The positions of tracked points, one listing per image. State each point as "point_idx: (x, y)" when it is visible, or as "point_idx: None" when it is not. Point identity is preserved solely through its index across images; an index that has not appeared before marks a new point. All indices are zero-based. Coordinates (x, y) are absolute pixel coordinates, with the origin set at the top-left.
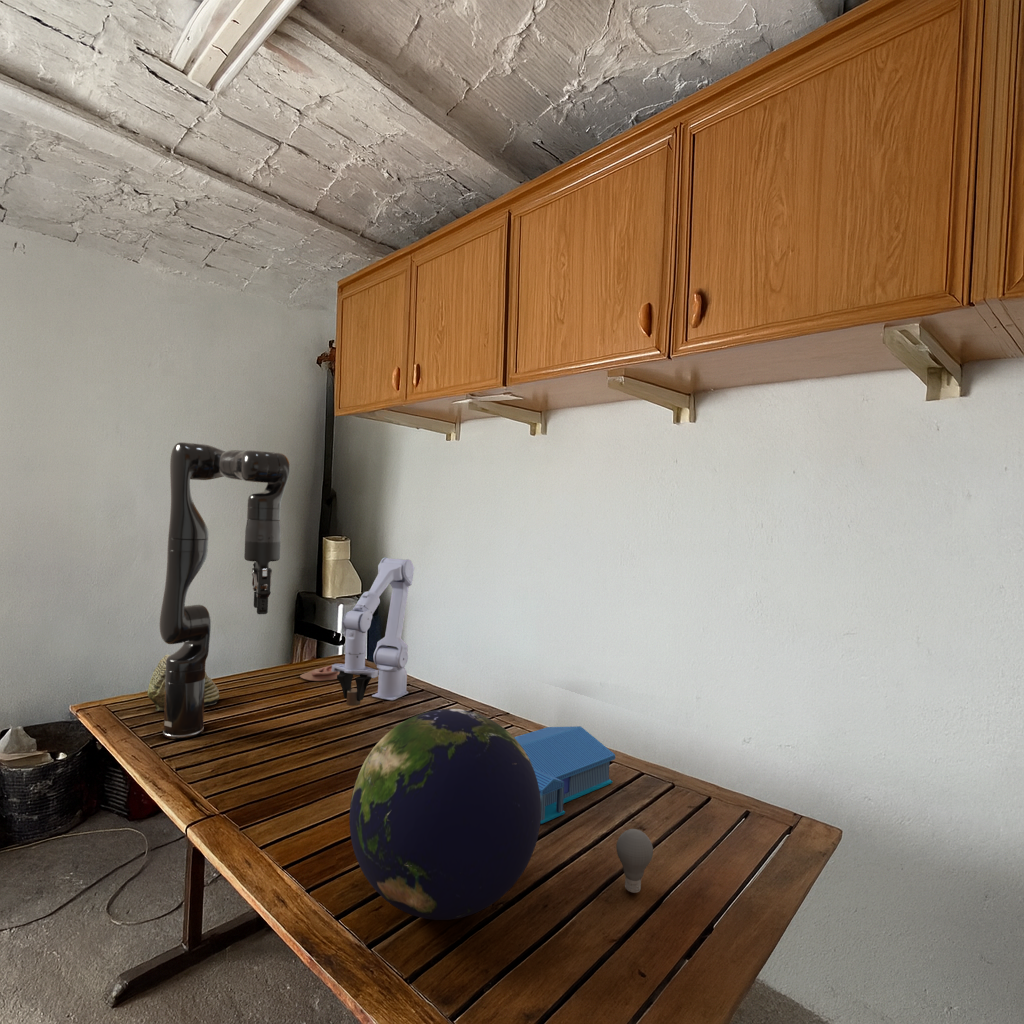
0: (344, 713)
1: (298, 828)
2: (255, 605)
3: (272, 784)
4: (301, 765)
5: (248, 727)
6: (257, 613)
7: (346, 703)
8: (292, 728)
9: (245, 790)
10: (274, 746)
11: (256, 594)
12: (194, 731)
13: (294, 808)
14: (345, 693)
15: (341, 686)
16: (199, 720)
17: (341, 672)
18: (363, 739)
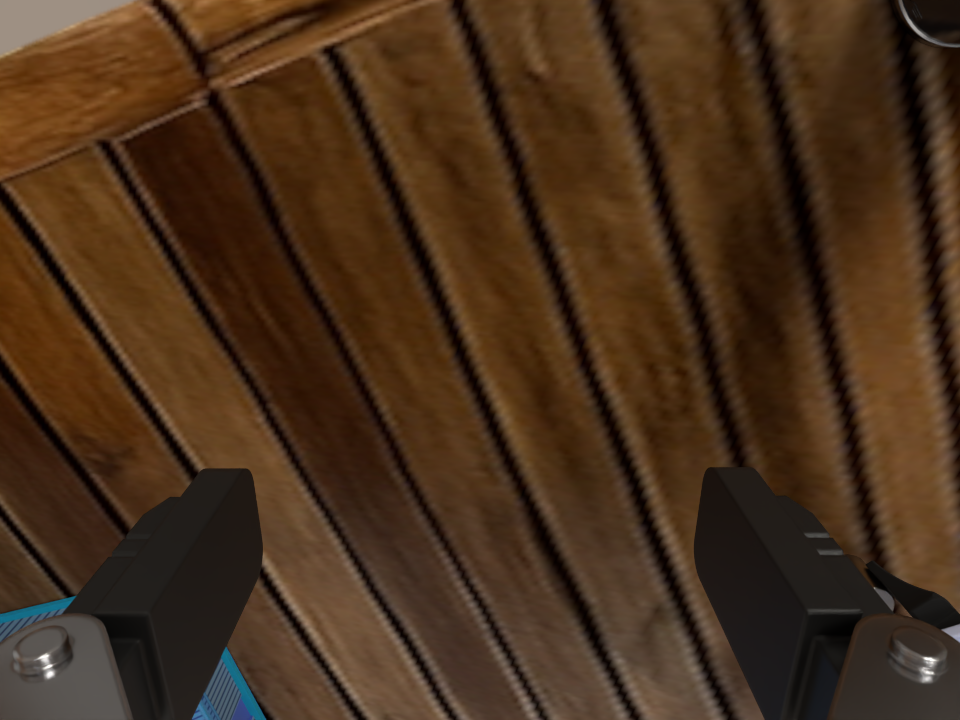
0: (852, 528)
1: (81, 285)
2: (715, 492)
3: (364, 251)
4: (473, 345)
5: (890, 218)
6: (210, 469)
7: (851, 555)
8: (798, 360)
9: (345, 171)
10: (660, 287)
11: (24, 646)
12: (907, 7)
13: (194, 290)
14: (875, 576)
15: (902, 582)
16: (944, 22)
17: (952, 621)
18: (600, 533)
